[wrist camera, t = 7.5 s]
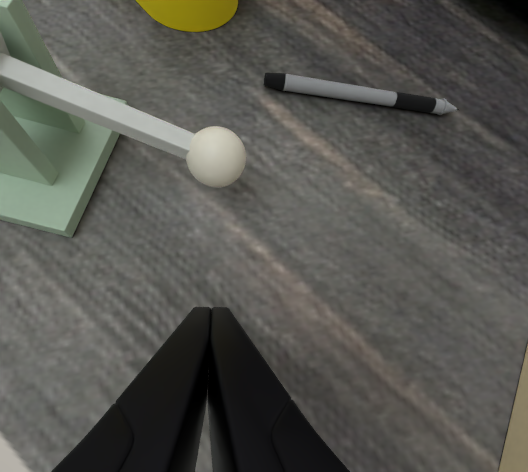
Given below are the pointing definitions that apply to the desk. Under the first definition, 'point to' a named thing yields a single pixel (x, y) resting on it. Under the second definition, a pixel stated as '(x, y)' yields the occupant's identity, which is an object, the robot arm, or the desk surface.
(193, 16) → the crank
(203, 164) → the lever
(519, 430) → the button box
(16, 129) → the bracket
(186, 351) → the robot arm
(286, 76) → the pen
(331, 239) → the desk surface
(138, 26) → the desk surface
